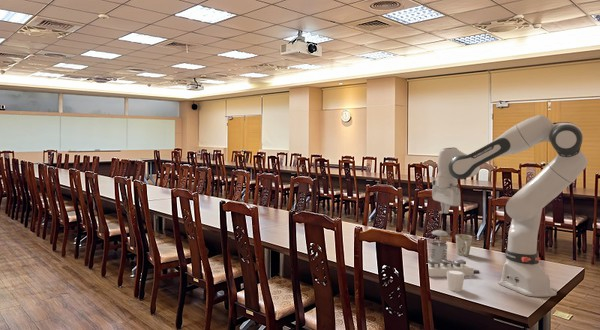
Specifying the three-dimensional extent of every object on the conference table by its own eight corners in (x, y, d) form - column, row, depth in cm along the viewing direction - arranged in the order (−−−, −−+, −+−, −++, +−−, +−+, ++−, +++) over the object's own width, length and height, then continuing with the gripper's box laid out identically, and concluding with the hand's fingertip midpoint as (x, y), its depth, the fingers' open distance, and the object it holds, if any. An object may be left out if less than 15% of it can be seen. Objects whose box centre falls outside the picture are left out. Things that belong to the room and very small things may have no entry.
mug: (468, 252, 238) (469, 234, 237) (475, 259, 225) (476, 240, 225) (452, 252, 239) (453, 233, 238) (458, 258, 226) (460, 239, 226)
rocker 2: (466, 264, 199) (465, 261, 199) (456, 266, 198) (456, 263, 198) (462, 262, 202) (461, 259, 202) (453, 264, 201) (452, 261, 201)
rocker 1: (439, 266, 197) (440, 263, 197) (430, 264, 196) (431, 261, 196) (436, 264, 200) (437, 261, 200) (427, 262, 199) (428, 259, 199)
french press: (428, 261, 218) (430, 211, 217) (428, 255, 229) (430, 208, 228) (448, 263, 215) (451, 213, 214) (448, 257, 226) (450, 209, 225)
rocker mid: (452, 266, 198) (453, 263, 198) (443, 264, 197) (444, 261, 197) (449, 264, 201) (449, 261, 201) (440, 262, 200) (440, 259, 200)
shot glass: (449, 285, 183) (450, 268, 183) (466, 289, 179) (467, 272, 179) (443, 289, 178) (444, 272, 178) (460, 293, 174) (461, 276, 173)
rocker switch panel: (483, 275, 198) (484, 264, 198) (427, 276, 194) (427, 265, 193) (473, 270, 206) (474, 259, 206) (419, 271, 202) (420, 260, 201)
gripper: (465, 185, 191) (463, 217, 192) (442, 180, 211) (441, 209, 212) (451, 185, 190) (449, 217, 191) (430, 180, 210) (428, 209, 211)
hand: (445, 212), depth 202 cm, fingers closed
